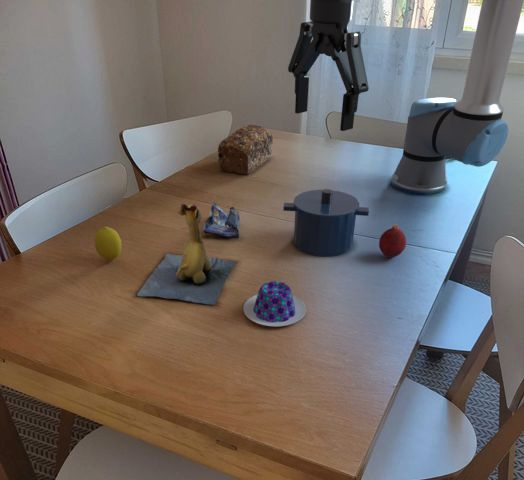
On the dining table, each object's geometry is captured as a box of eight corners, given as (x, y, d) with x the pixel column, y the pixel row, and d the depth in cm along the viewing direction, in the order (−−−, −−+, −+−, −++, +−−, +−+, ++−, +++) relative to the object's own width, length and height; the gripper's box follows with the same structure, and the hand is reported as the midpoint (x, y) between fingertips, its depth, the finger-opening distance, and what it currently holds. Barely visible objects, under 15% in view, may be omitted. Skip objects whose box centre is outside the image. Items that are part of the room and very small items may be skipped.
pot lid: (296, 192, 129) (296, 177, 127) (358, 195, 128) (360, 180, 126) (290, 218, 118) (291, 202, 115) (359, 222, 116) (361, 206, 114)
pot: (285, 227, 134) (286, 190, 129) (363, 232, 133) (368, 194, 127) (279, 253, 124) (281, 213, 118) (364, 259, 122) (370, 219, 116)
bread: (244, 153, 179) (244, 121, 173) (274, 158, 175) (275, 125, 169) (216, 171, 165) (215, 137, 159) (248, 176, 162) (248, 142, 156)
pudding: (245, 294, 110) (244, 271, 106) (304, 295, 109) (306, 272, 106) (241, 328, 100) (241, 304, 97) (306, 330, 100) (308, 306, 97)
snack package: (259, 227, 135) (222, 214, 140) (257, 204, 130) (219, 192, 135) (229, 253, 128) (192, 238, 133) (226, 230, 123) (187, 215, 129)
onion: (403, 265, 120) (409, 231, 115) (376, 262, 121) (381, 229, 116) (403, 253, 124) (409, 220, 119) (377, 250, 125) (382, 218, 120)
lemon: (128, 257, 122) (123, 223, 117) (115, 268, 117) (109, 234, 113) (106, 253, 123) (100, 219, 118) (93, 264, 119) (86, 230, 114)
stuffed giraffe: (236, 261, 120) (231, 191, 110) (214, 307, 106) (206, 232, 96) (167, 256, 123) (156, 187, 113) (137, 300, 109) (122, 227, 99)
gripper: (272, -11, 102) (270, 108, 116) (368, 6, 87) (353, 141, 101) (302, -14, 106) (297, 102, 119) (400, 2, 91) (381, 133, 104)
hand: (322, 120), depth 110 cm, fingers open, 13 cm apart
